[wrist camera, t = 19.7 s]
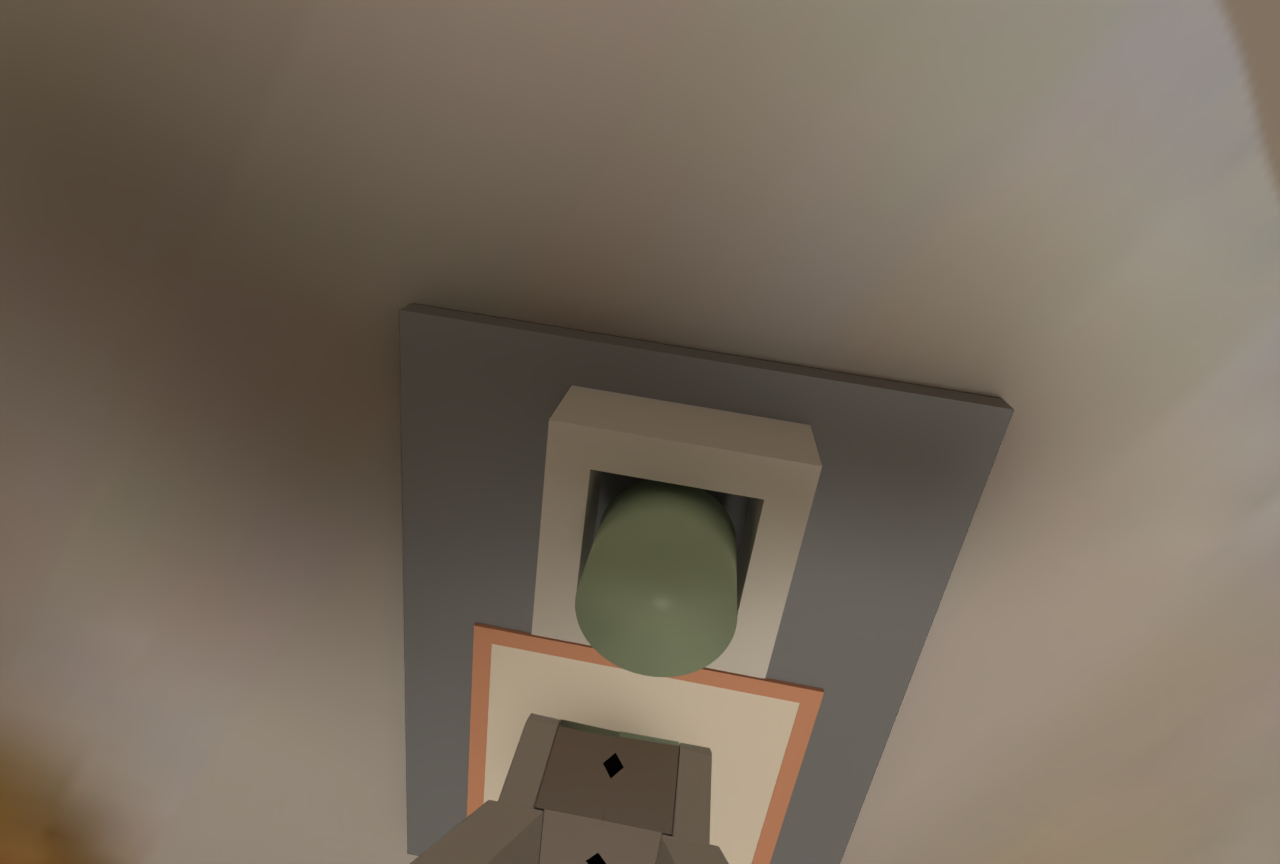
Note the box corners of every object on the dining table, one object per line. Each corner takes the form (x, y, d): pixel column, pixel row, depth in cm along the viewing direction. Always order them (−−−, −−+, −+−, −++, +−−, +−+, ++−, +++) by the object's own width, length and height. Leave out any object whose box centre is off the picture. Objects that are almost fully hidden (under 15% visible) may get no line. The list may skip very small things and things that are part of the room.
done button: (722, 608, 18) (721, 690, 15) (592, 584, 18) (568, 660, 16) (748, 492, 17) (751, 560, 14) (606, 467, 17) (582, 529, 14)
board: (808, 917, 26) (818, 1017, 23) (416, 834, 27) (377, 919, 24) (1002, 398, 18) (1058, 450, 15) (411, 303, 19) (350, 334, 16)
